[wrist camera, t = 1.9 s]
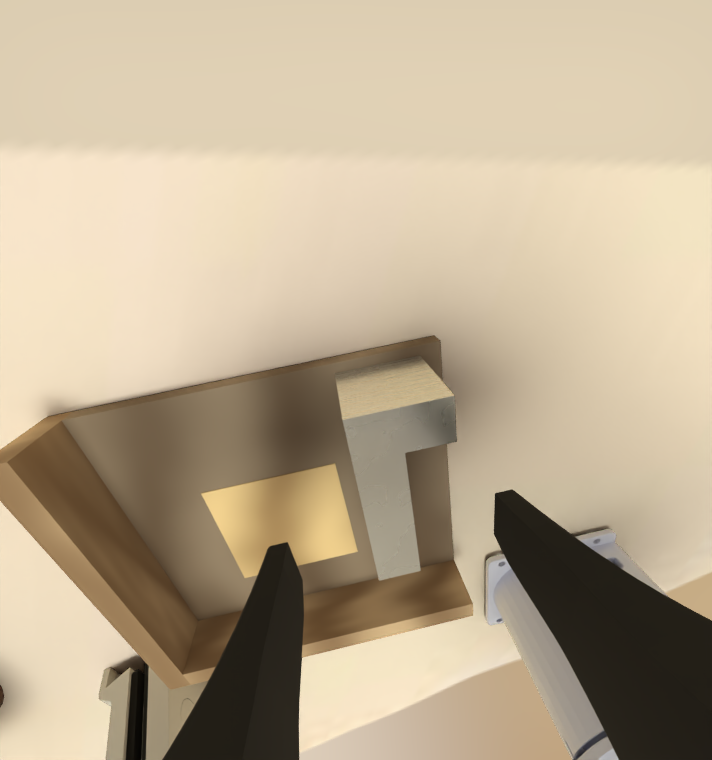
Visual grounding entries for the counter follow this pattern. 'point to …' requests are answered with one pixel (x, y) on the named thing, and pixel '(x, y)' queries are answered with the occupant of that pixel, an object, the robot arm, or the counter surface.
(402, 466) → the bracket
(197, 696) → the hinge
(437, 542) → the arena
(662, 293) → the counter surface
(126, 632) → the walls
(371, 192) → the counter surface
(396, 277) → the counter surface
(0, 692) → the ball on wooden stand
